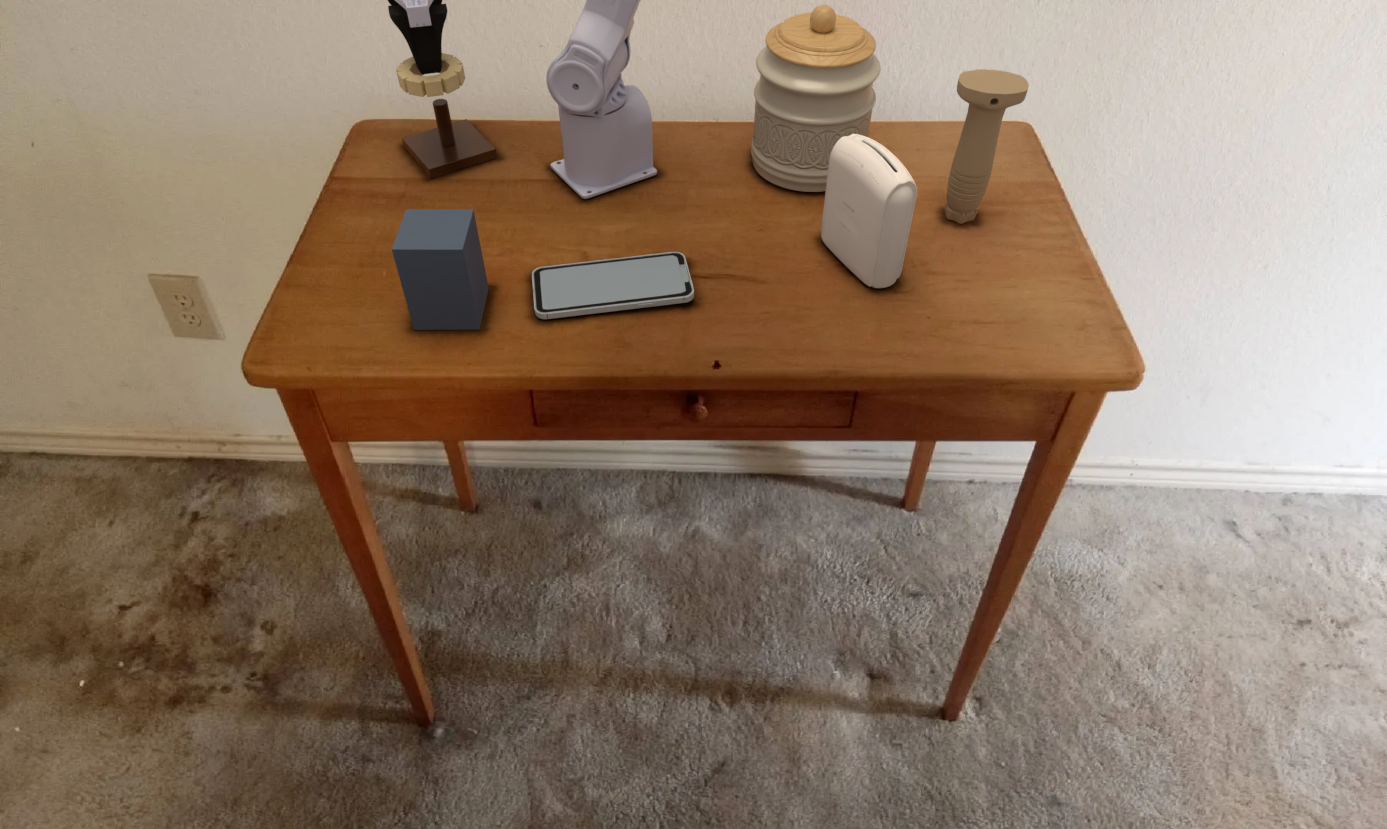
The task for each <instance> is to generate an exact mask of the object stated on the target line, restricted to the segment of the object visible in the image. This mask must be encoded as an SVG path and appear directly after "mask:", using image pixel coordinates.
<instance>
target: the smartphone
mask: <svg viewBox="0 0 1387 829" xmlns="http://www.w3.org/2000/svg"><path fill="white" fill-rule="evenodd" d="M531 282H532V283H531V284H532V295H533V309H534V314H535V316H536V317H537V318H538V319H540V320H551V319H552V320H553V319H559V318H568V317H569V318H570V317H576V316H577V317H578V316H584V315H585V316H586V315H594V314H601V313H609V312H619V311H627V310H636V309H642V308H643V309H644V308H653V307H661V306H670V305H676V304H686V303H689V302H691V301H693V299H694V298H695V289H694V284H693V281H692V277H691V274H690V270H689V266H688V262H687V258H686V255H685V254H684V253H682V252H679V251H668V252H660V253H651V254H650V253H649V254H642V255H633V256H632V255H631V256H624V257H616V258H608V259H607V258H606V259H599V260H590V261H581V262H580V261H579V262H572V263H563V264H554V265H544V266H539V267H536V268H535V269H533V270H532V272H531Z"/></svg>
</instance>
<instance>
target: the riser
mask: <svg viewBox="0 0 1387 829" xmlns="http://www.w3.org/2000/svg"><path fill="white" fill-rule="evenodd" d="M391 252H392V256H393V259H394V263H395V267H396V270H397V274H398V278H399V281H400V285H401V288H402V292H403V295H404V299H405V303H406V307H407V310H408V313H409V317H410V320H411V324H412V328H413V330H414V331H479V330H481V326H482V322H483V317H484V313H485V307H486V304H487V299H488V295H489V290H490V287H489V283H488V277H487V272H486V271H487V270H486V267H485V262H484V257H483V256H484V255H483V252H482V246H481V240H480V236H479V231H478V225H477V220H476V216H475V210H474V209H473V208H438V209H437V208H406V209H405V211H404V214H403V216H402V219H401V222H400V225H399V228H398V230H397V233H396V235H395V239H394V241H393V244H392V246H391Z"/></svg>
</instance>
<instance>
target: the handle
mask: <svg viewBox="0 0 1387 829" xmlns="http://www.w3.org/2000/svg"><path fill="white" fill-rule="evenodd" d="M957 79H958V80H957V84H956V93H957V95H958V97H959V98H960V99H962V100H963V101H964V102H966V103H967V104H968V106H967V113H966V116H965V119H964V123H963V126H962V130H961V133H960V137H959V141H958V143H957V146H956V150H955V153H954V156H953V159H952V162H951V166H950V171H949V174H948V179H947V187H946V194H945V195H946V198H945V199H946V200H945V203H944V212H945V218H946V219H947V220H950V221H953V222H956V223H957V224H958V225H964V224H965V223H967V222H973V221H974V220H975V218H976V216H977V214H978V208H979V207H980V204H981V203H982V201H983V198H984V196H985V193H986V191H987V188H988V185H989V182H990V177H991V174H992V171H993V165H994V161H995V157H996V156H995V155H996V150H997V147H998V141H999V140H998V139H999V136H1000V131H1001V126H1002V122H1003V118H1004V115H1005V112H1006V110H1007V109H1008V108H1010V107H1013V106H1018V105H1020V104H1022V103H1023V102H1024V101H1025V100H1026V97H1027V94H1028V91H1029V81H1028V80H1027V79H1026V78H1025V77H1024V76H1022V75H1021V74H1017V73H1013V72H1010V71H1005V70H998V69H987V68H986V69H973V70H966V71H962V72H961V73H960V74H959V76H958V78H957Z"/></svg>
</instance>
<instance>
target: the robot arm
mask: <svg viewBox="0 0 1387 829" xmlns="http://www.w3.org/2000/svg"><path fill="white" fill-rule="evenodd" d="M387 2H388V3H389V5H388V6H387V9H388V16H389V18H390V20H391V21H392V23H393V24H394V25H395V27H396V28H397V29H398V30H399V32H400V33H401V34H402V36H403V38H404V40H405V41H406V43H407V45H408V48H409V50H410V52H411V55H412V57H414V60H415V62H416V65H417V67H418V69H419V71H420V72H421V74H424V75H430V74H440V73H439V72H441V67H442V53H443V51H442V49H443V48H442V41H443V40H442V38H443V29H444V26H445V22H446V19H447V17H448V6H447V3H443V0H387ZM640 3H641V0H586V1H585V4H584V6H583V9H582V11H581V13H580V15H579V18H578V19H577V21H576V23H575V26H574V27H573V30H572V32H571V33H570V36H569V38H568V40H567V43H566V44H565V46H564V47H563V49H561V51H560V53H559V54H558V55H557V56H556V57H555V58H554V59H553V60H552V61H551V62H550V64H549V66H548V68H547V71H546V77H545V78H546V86H547V87H546V88H547V89H548V92H549V94H550V96H551V98H552V99H553V100H554V102H555V104H557V105H558V106H557V107H558V117H559V126H560V136H561V137H560V138H561V146H562V156H563V158H562V159H559V160H555V161H553V162H551V163H550V164H549V166H550V169H551V170H552V171H553V172H554V173H555V174H556V175H557V176H559V178H561V180H562V181H563V182H564V183H566V184H567V185H568V186H569V188H571V189H572V190H573V191H574V192H575V193H576V194H577V195H578V196H579V197H580V198H581V199H583V200H588V199H590V198H594V197H596V196H599V195H602V194H605V193H608V192H610V191H613V190H616V189H619V188H623V187H625V186H628V185H630V184H634V183H637V182H639V181H642V180H645V179H649V178H652V177H654V176H656V175H657V174H658V170H657V168H655V167H654V142H653V141H654V136H653V118H652V112H651V108H650V104H649V103H648V100H647V98H646V96H645V95H644V93H643V92H642V90H641V89H640V88H639V87H638V86H637V85H633V84H627V85H625V83H624V80H623V78H622V73H623V71H624V70H625V69H626V68H627V66H628V65H629V62H630V59H631V53H632V52H631V42H630V39H631V38H630V37H631V33H632V30H633V27H634V25H635V18H634V17H635V15H636V13H637V10H638V8H639V5H640Z"/></svg>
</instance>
